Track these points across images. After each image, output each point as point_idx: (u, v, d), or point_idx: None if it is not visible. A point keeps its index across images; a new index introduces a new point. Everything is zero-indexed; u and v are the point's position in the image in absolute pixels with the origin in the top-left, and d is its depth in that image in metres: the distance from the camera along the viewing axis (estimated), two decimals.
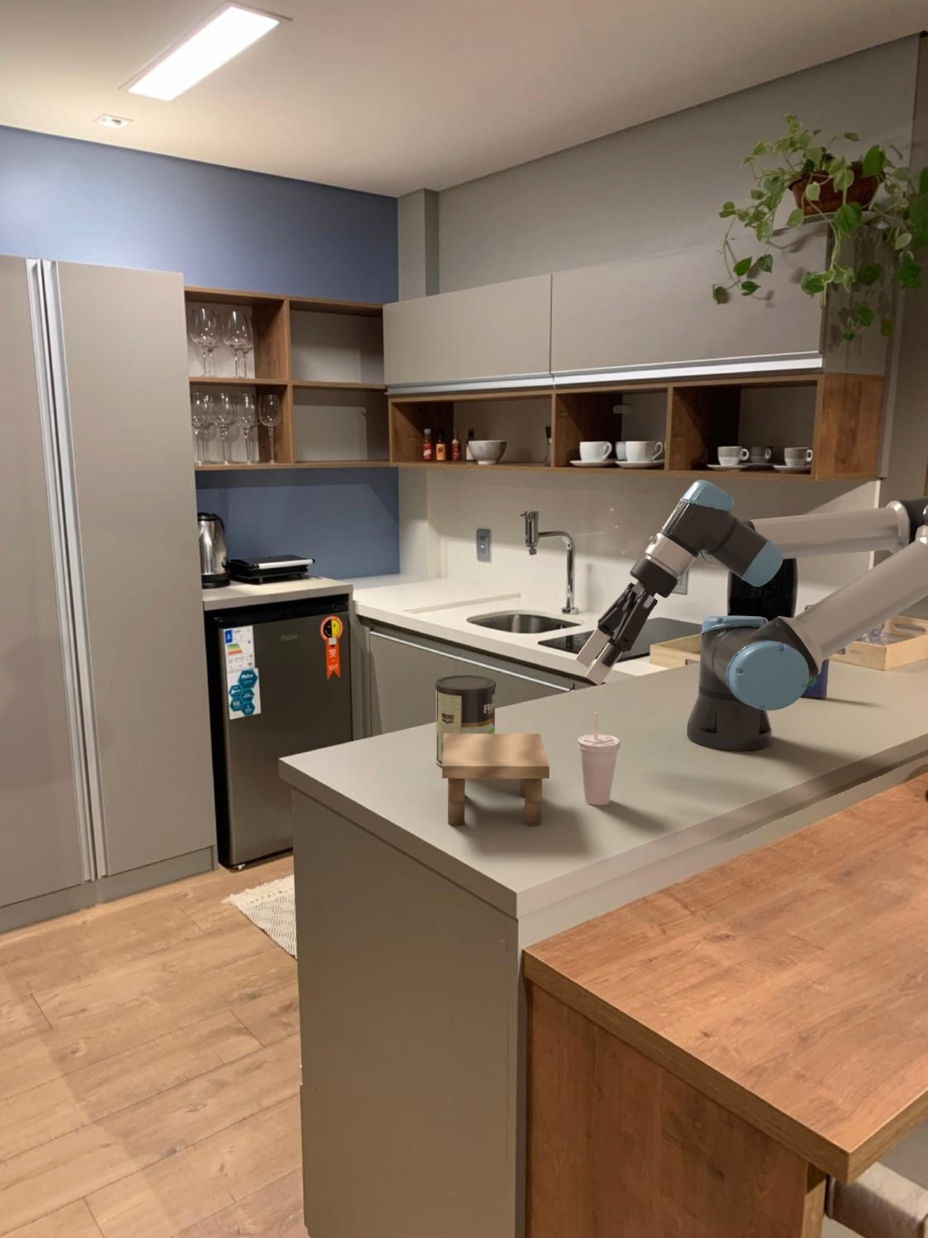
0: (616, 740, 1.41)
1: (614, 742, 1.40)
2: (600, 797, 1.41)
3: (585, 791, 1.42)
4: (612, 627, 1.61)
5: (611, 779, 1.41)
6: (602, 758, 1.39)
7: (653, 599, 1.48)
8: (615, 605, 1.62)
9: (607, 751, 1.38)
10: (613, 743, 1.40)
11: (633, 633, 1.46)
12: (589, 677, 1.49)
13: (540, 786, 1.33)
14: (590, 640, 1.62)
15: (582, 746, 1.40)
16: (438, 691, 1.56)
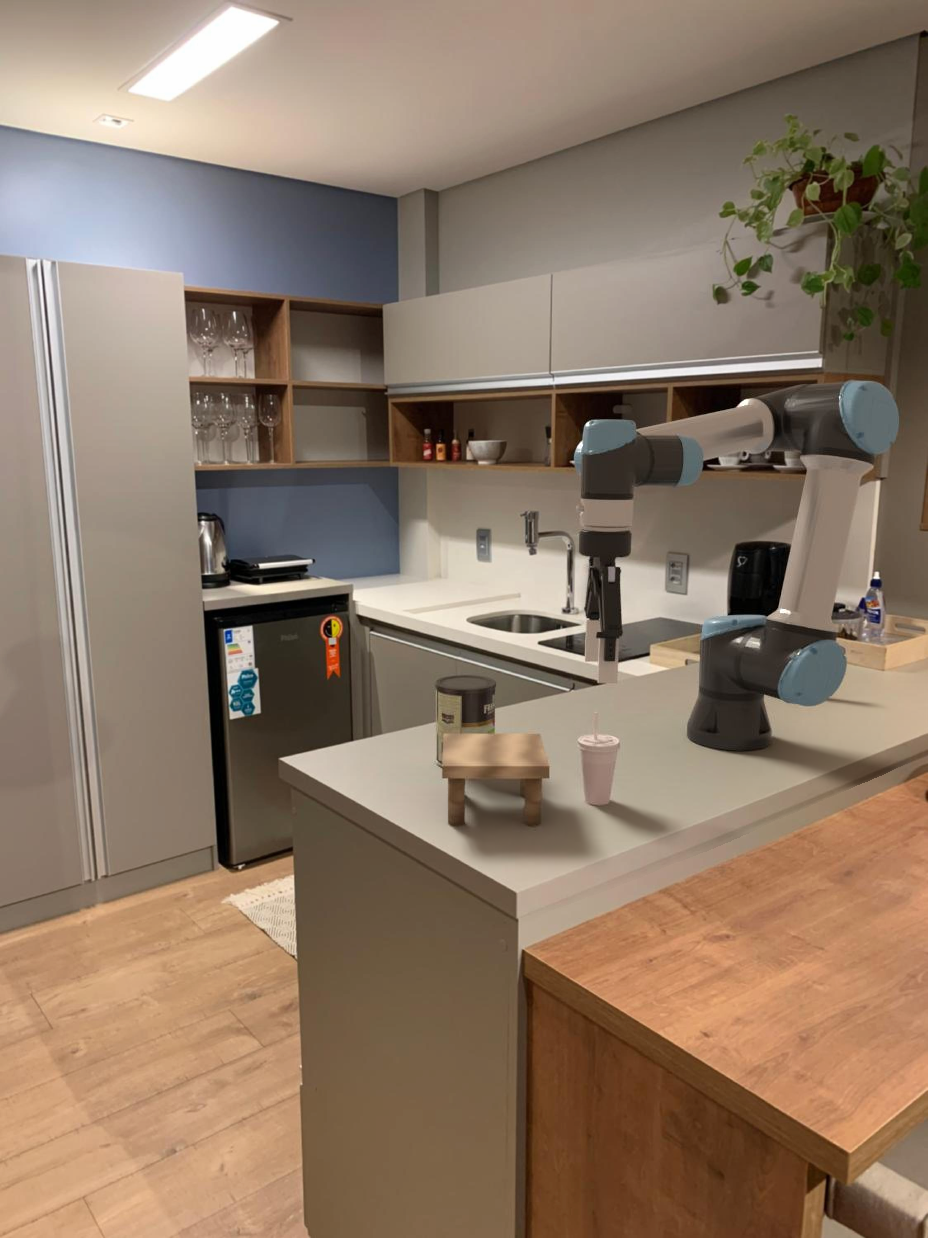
0: (616, 740, 1.41)
1: (614, 742, 1.40)
2: (600, 797, 1.41)
3: (585, 791, 1.42)
4: None
5: (611, 779, 1.41)
6: (602, 758, 1.39)
7: (614, 569, 1.30)
8: None
9: (607, 751, 1.38)
10: (613, 743, 1.40)
11: (615, 616, 1.28)
12: (602, 681, 1.32)
13: (540, 786, 1.33)
14: (587, 635, 1.45)
15: (582, 746, 1.40)
16: (438, 691, 1.56)
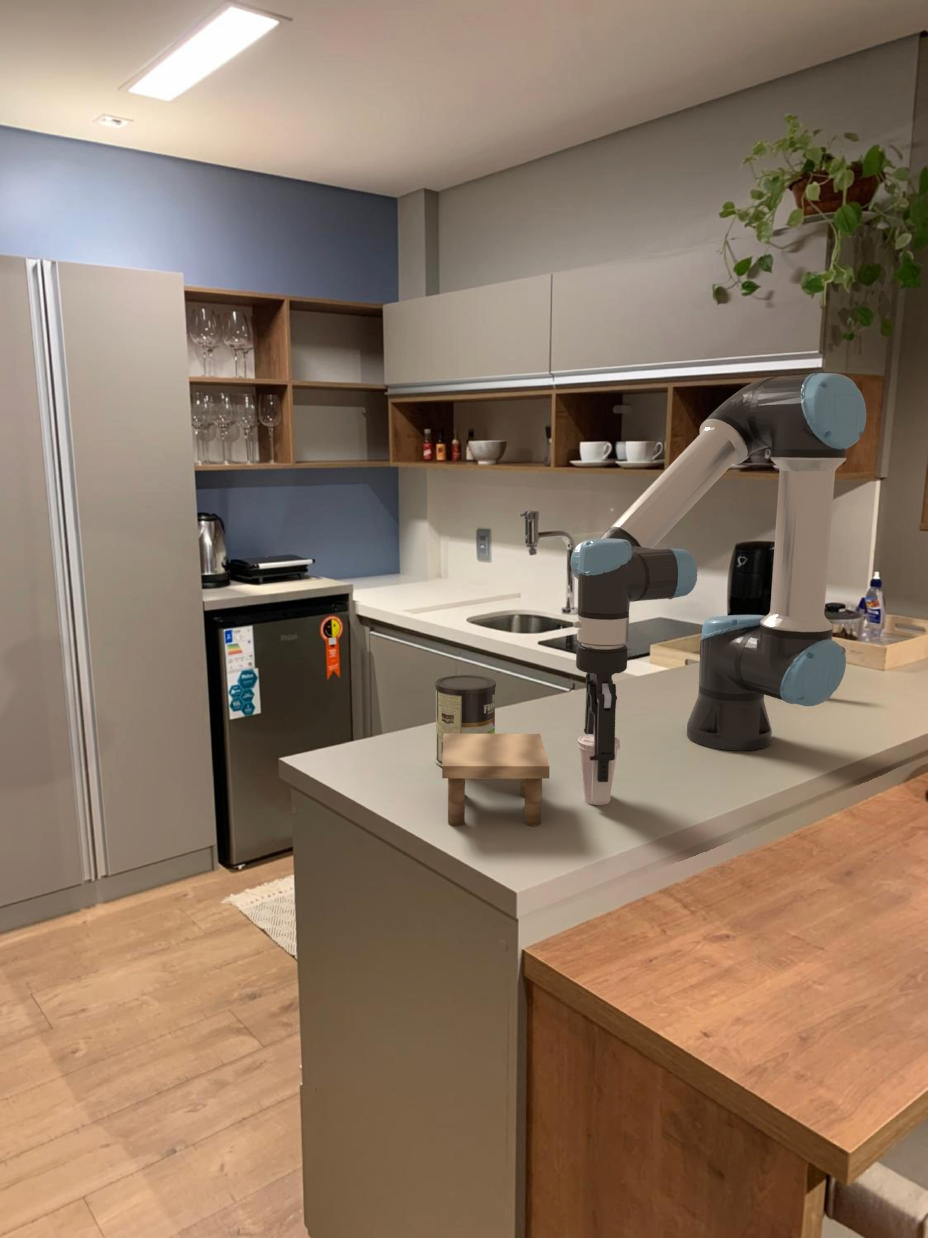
0: (616, 740, 1.41)
1: None
2: None
3: (585, 791, 1.42)
4: None
5: (611, 779, 1.41)
6: None
7: (611, 697, 1.33)
8: (588, 704, 1.46)
9: None
10: None
11: (609, 742, 1.34)
12: (596, 799, 1.39)
13: (540, 786, 1.33)
14: None
15: (582, 746, 1.40)
16: (438, 691, 1.56)
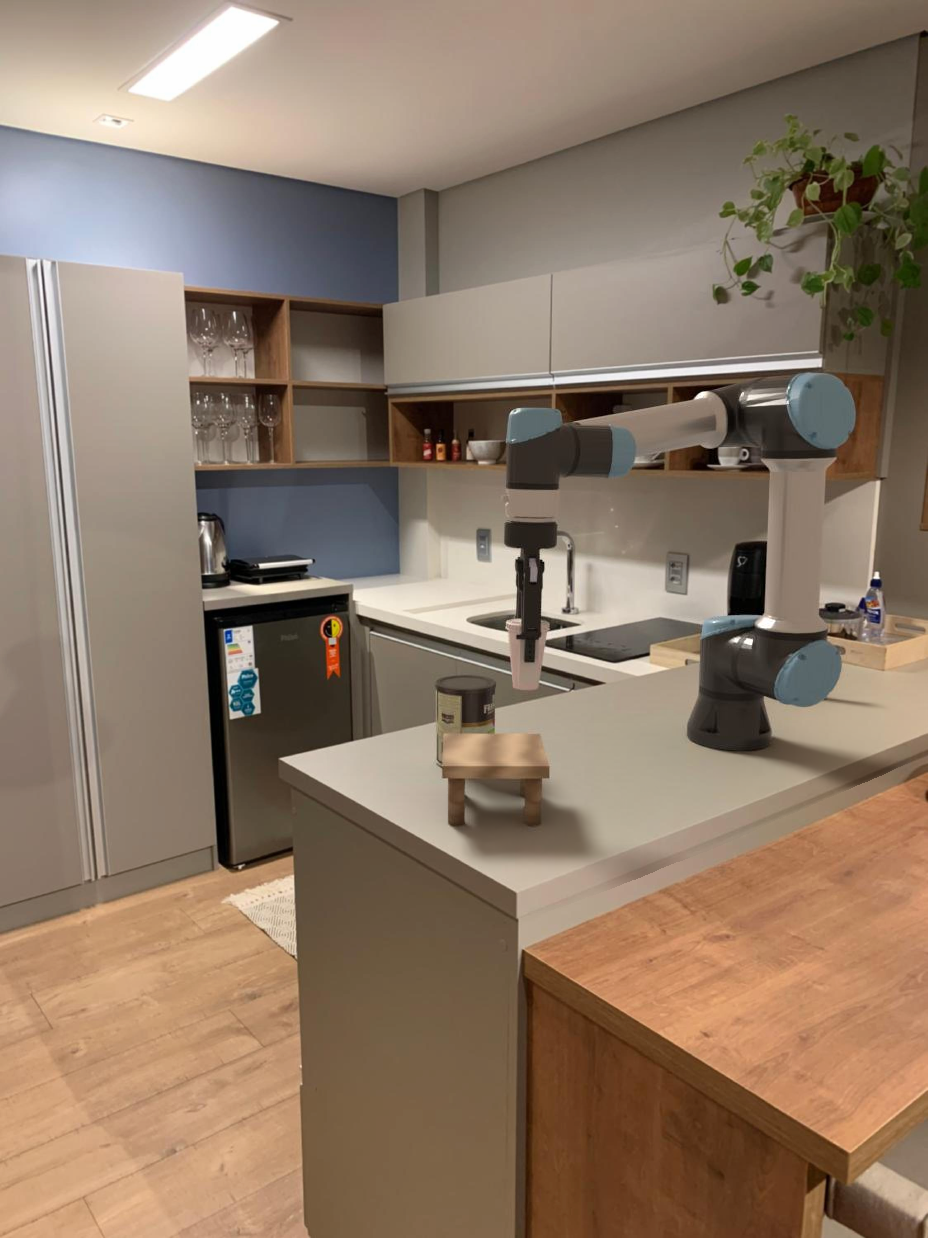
0: (546, 622, 1.35)
1: (543, 624, 1.34)
2: None
3: (513, 676, 1.36)
4: None
5: (540, 663, 1.35)
6: None
7: (537, 570, 1.27)
8: None
9: None
10: (542, 624, 1.34)
11: (535, 618, 1.28)
12: (522, 682, 1.33)
13: (540, 786, 1.33)
14: None
15: (509, 627, 1.34)
16: (438, 691, 1.56)
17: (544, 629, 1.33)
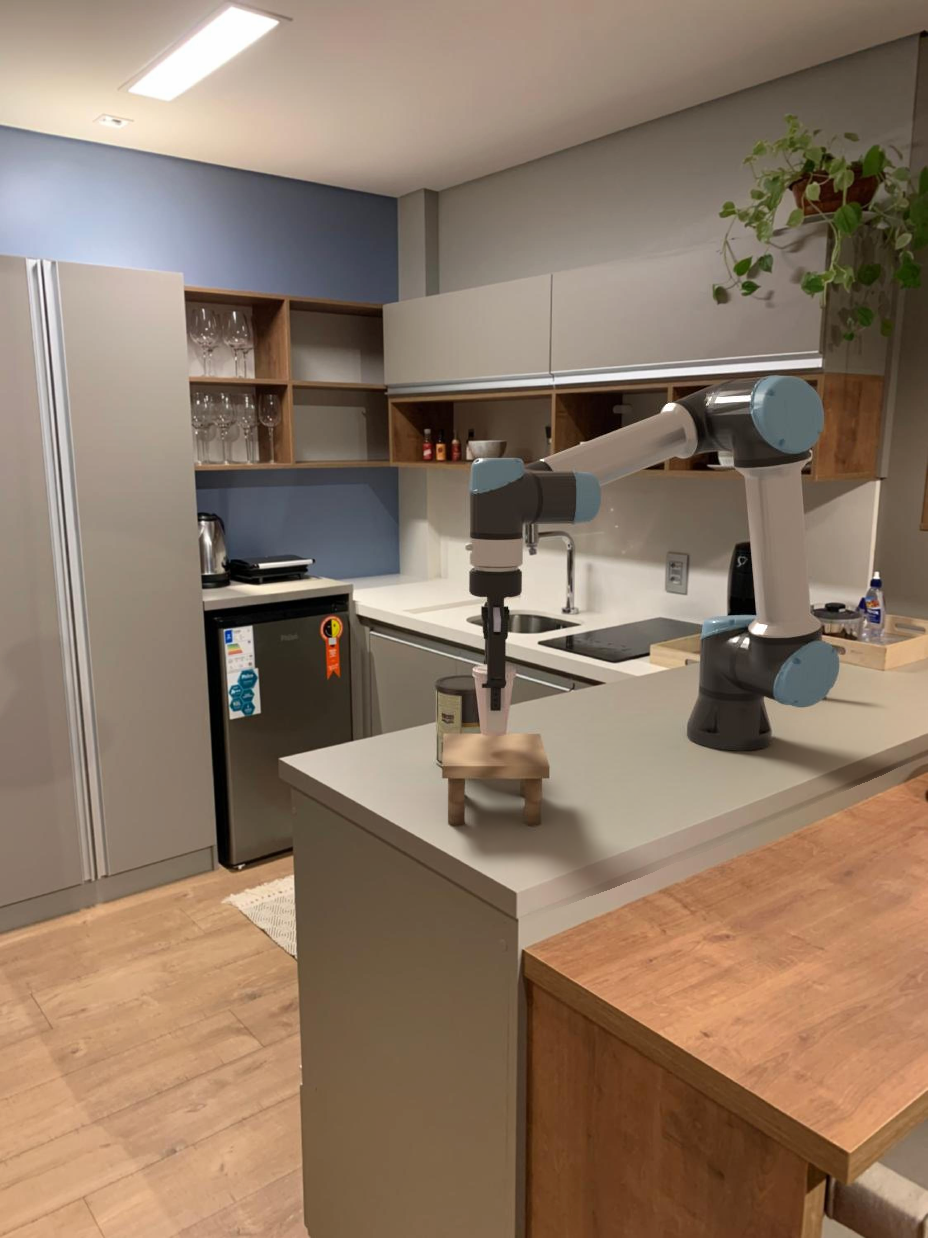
0: (512, 669, 1.36)
1: (509, 670, 1.35)
2: None
3: (480, 722, 1.37)
4: None
5: (507, 709, 1.36)
6: None
7: (500, 620, 1.28)
8: None
9: None
10: (508, 671, 1.34)
11: (499, 668, 1.29)
12: (489, 730, 1.33)
13: (540, 786, 1.33)
14: None
15: (476, 674, 1.34)
16: (438, 691, 1.56)
17: (510, 676, 1.34)
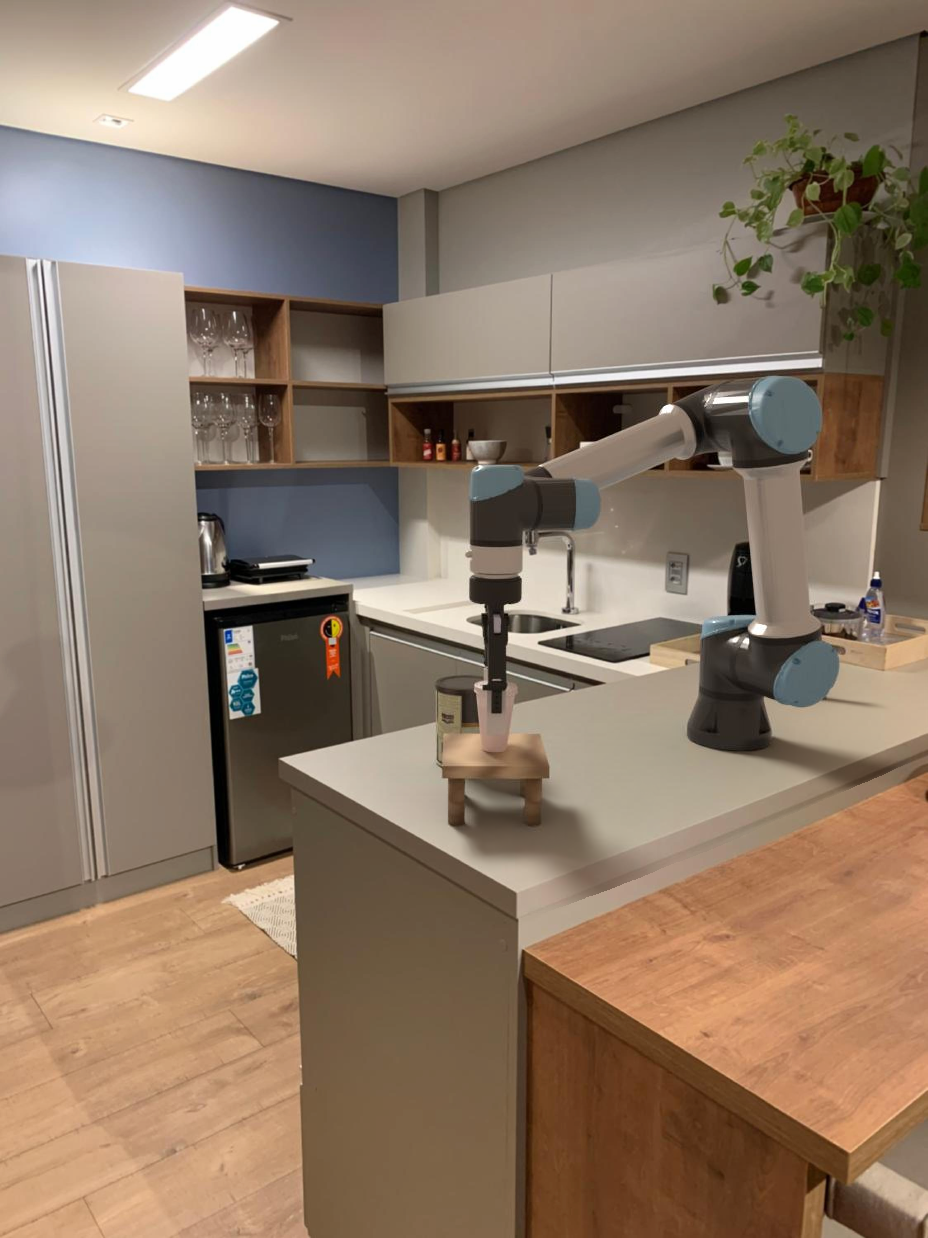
0: (514, 685, 1.36)
1: (511, 687, 1.36)
2: (496, 744, 1.36)
3: (481, 738, 1.37)
4: None
5: (507, 725, 1.36)
6: None
7: (500, 620, 1.28)
8: None
9: None
10: (509, 688, 1.35)
11: (500, 668, 1.27)
12: (490, 733, 1.31)
13: (540, 786, 1.33)
14: None
15: (477, 690, 1.35)
16: (438, 691, 1.56)
17: (511, 693, 1.35)
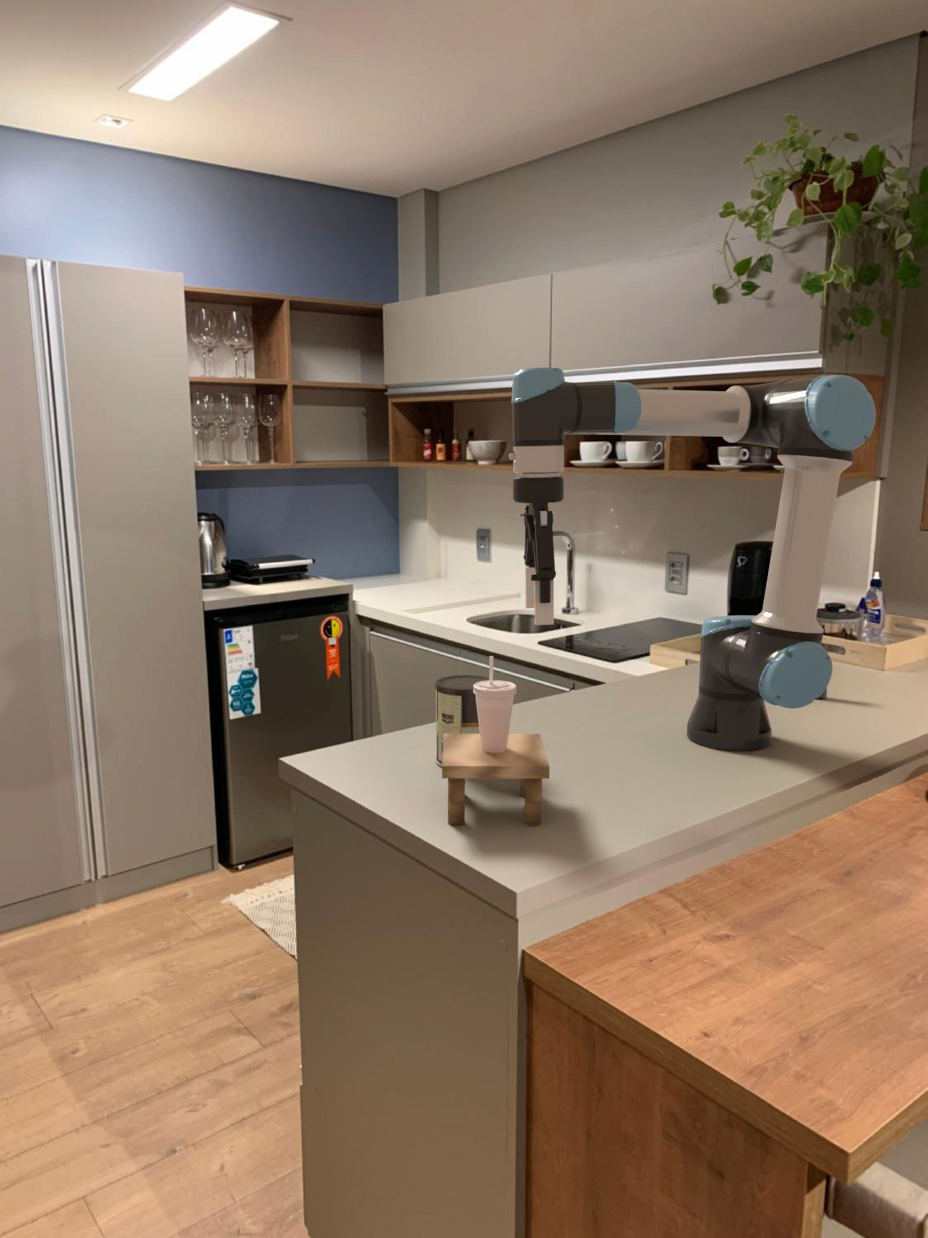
0: (512, 685, 1.36)
1: (510, 687, 1.35)
2: (496, 745, 1.36)
3: (481, 738, 1.37)
4: None
5: (507, 726, 1.36)
6: (496, 703, 1.34)
7: (546, 512, 1.34)
8: None
9: (501, 696, 1.34)
10: (508, 688, 1.35)
11: (548, 558, 1.32)
12: (539, 623, 1.36)
13: (540, 786, 1.33)
14: (527, 582, 1.49)
15: (476, 691, 1.35)
16: (438, 691, 1.56)
17: (510, 693, 1.34)
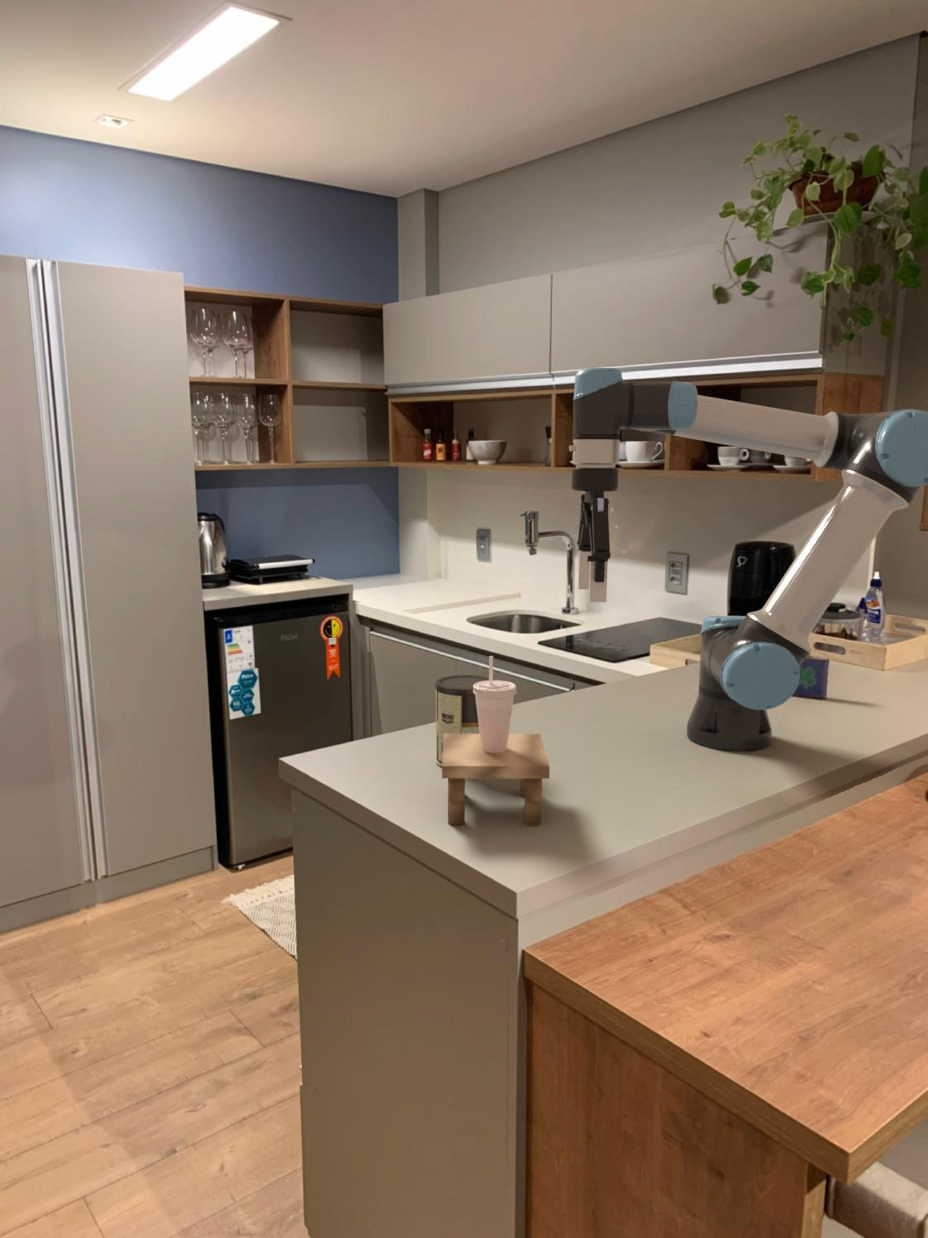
0: (512, 685, 1.36)
1: (510, 687, 1.35)
2: (496, 745, 1.36)
3: (481, 738, 1.37)
4: None
5: (507, 726, 1.36)
6: (496, 703, 1.34)
7: (603, 500, 1.47)
8: None
9: (501, 696, 1.34)
10: (508, 688, 1.35)
11: (604, 540, 1.46)
12: (593, 600, 1.49)
13: (540, 786, 1.33)
14: (580, 565, 1.62)
15: (476, 691, 1.35)
16: (438, 691, 1.56)
17: (510, 693, 1.34)
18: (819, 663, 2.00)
